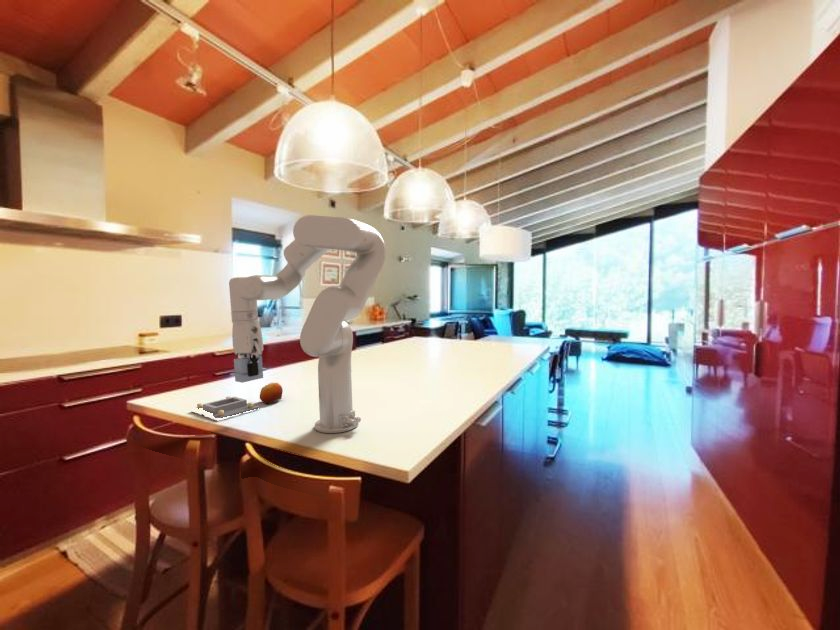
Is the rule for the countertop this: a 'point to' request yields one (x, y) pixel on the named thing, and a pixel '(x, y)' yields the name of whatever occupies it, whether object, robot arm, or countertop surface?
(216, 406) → the chassis
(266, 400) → the fruit
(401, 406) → the countertop surface
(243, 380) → the servo
